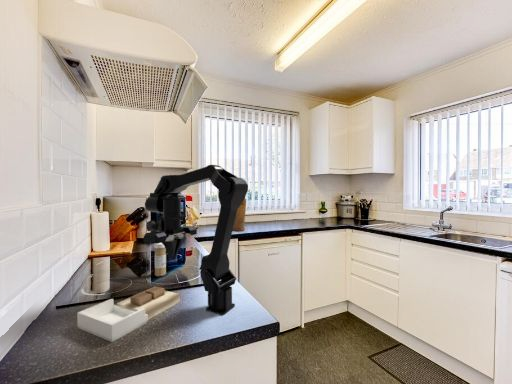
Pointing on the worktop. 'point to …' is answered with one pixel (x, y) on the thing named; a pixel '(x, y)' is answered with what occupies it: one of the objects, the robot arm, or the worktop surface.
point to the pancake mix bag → (240, 217)
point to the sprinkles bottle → (160, 259)
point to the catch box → (110, 320)
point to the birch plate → (154, 304)
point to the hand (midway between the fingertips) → (172, 259)
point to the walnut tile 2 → (156, 292)
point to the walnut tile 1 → (140, 299)
